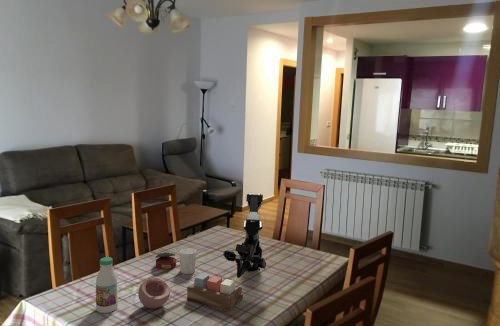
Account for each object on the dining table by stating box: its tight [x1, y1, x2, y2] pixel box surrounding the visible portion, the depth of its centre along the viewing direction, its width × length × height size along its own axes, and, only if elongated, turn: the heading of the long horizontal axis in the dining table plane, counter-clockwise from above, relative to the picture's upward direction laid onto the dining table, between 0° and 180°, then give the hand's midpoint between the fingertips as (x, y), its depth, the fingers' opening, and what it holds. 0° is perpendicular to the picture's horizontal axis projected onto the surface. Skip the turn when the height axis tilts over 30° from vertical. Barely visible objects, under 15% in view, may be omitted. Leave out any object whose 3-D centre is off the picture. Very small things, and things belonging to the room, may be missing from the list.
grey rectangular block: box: [193, 272, 210, 289], centre depth 165 cm, size 5×4×8 cm
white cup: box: [179, 247, 197, 275], centre depth 191 cm, size 8×8×10 cm
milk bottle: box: [95, 256, 118, 314], centre depth 153 cm, size 8×8×20 cm
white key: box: [220, 278, 236, 295], centre depth 161 cm, size 5×4×8 cm
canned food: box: [155, 252, 177, 271], centre depth 196 cm, size 11×10×10 cm
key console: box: [186, 282, 244, 313], centre depth 164 cm, size 12×19×6 cm, turn 66°
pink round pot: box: [137, 277, 171, 309], centre depth 156 cm, size 12×12×12 cm
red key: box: [207, 275, 223, 292], centre depth 163 cm, size 5×4×8 cm
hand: (238, 277), depth 169 cm, fingers closed
